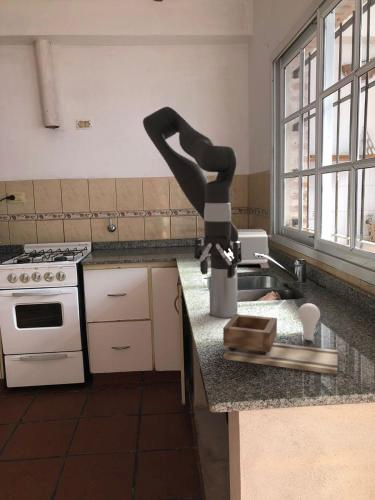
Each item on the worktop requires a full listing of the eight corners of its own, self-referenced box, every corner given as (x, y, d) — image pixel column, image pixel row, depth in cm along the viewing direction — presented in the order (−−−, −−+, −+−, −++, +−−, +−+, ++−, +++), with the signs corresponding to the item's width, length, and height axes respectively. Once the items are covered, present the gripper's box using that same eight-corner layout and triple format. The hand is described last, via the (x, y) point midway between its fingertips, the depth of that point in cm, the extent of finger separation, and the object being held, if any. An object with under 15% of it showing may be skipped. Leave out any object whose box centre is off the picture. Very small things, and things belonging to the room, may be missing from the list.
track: (223, 358, 102) (223, 353, 102) (234, 342, 113) (234, 336, 113) (337, 374, 92) (337, 368, 92) (337, 354, 103) (337, 348, 103)
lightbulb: (305, 345, 109) (306, 307, 108) (293, 337, 115) (294, 302, 114) (323, 342, 111) (324, 305, 109) (311, 335, 117) (312, 299, 115)
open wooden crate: (223, 352, 102) (223, 328, 101) (234, 336, 113) (234, 314, 112) (269, 358, 97) (269, 333, 96) (276, 341, 108) (276, 318, 107)
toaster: (274, 267, 218) (275, 231, 215) (213, 269, 219) (213, 233, 216) (268, 261, 237) (268, 228, 234) (212, 262, 238) (212, 229, 235)
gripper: (189, 219, 109) (189, 275, 112) (233, 221, 101) (232, 281, 104) (203, 217, 115) (203, 270, 118) (246, 219, 107) (245, 276, 110)
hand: (217, 275), depth 111 cm, fingers open, 8 cm apart
